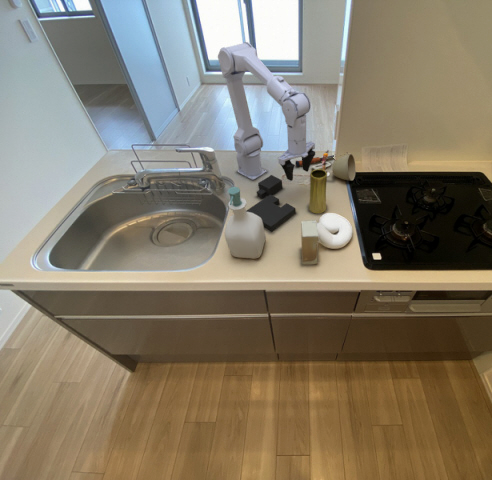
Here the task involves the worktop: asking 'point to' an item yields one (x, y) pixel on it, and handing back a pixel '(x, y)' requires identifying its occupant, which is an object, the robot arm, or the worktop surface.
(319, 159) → the knife
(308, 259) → the cosmetic box
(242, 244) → the soap bottle
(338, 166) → the cup
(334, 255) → the worktop surface
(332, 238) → the sculpture
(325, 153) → the action figure
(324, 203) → the vase
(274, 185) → the black block with stub
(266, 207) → the base pad
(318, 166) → the soap
